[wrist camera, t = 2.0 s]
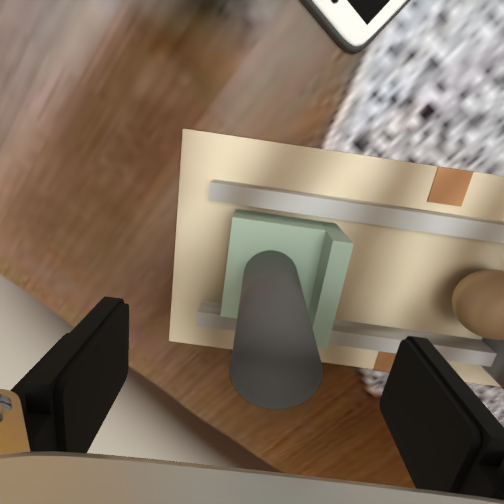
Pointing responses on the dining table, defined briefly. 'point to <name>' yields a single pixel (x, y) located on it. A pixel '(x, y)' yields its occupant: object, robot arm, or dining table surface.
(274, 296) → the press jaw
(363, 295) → the press frame
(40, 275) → the dining table surface
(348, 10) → the cell phone
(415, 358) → the robot arm
